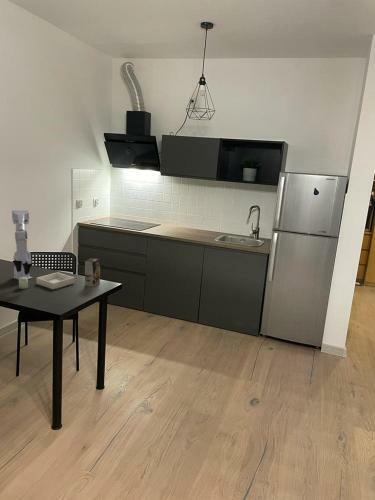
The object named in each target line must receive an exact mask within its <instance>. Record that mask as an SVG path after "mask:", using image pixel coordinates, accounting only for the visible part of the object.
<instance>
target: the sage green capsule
mask: <svg viewBox="0 0 375 500" xmlns="http://www.w3.org/2000/svg"><path fill="white" fill-rule="evenodd" d="M28 288H29V279H28V277H20V278H19V280H18V289H20V290H27V289H28Z"/></svg>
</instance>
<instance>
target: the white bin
mask: <svg viewBox="0 0 375 500" xmlns="http://www.w3.org/2000/svg"><path fill="white" fill-rule="evenodd" d="M36 284H37V285H39V286H41V287H45V288H47V289H51V290H53V291H55V290H58V289H61V288H64V287H68V286H70V285H74V284H75V277H74V276H72V275H67V274H64V273H62V272H54V273H50V274H46V275H41V276H38V277H36ZM67 285H68V286H67Z"/></svg>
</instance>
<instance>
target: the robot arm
mask: <svg viewBox="0 0 375 500" xmlns="http://www.w3.org/2000/svg"><path fill="white" fill-rule="evenodd" d="M11 218H12V223H13V224H14V225H15V232H14V237H15V238H14V239H15V244H16V251H14V253H13V260H12V263H13V265H14V266H13V275H14V276H12V278H13V279H16V280H18V281H19V278H20V277H28V280H29V279H33V277H32V276H30V269H31V268H32V266H33V262H32V257H31V252H30V251H29V250H28V231H27V225H28V224H29V223H30V211H29V210H24V209H23V210H21V209H20V210H16V209H15V210H14V209H13V210H12V211H11Z"/></svg>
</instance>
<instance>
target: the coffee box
mask: <svg viewBox="0 0 375 500" xmlns="http://www.w3.org/2000/svg"><path fill="white" fill-rule="evenodd" d="M84 261H85V262H84V286H87V287H94V288H95V286H97V285H98V284H100V282H101V258H94V257H91V258H88V259H86V260H84Z"/></svg>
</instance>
